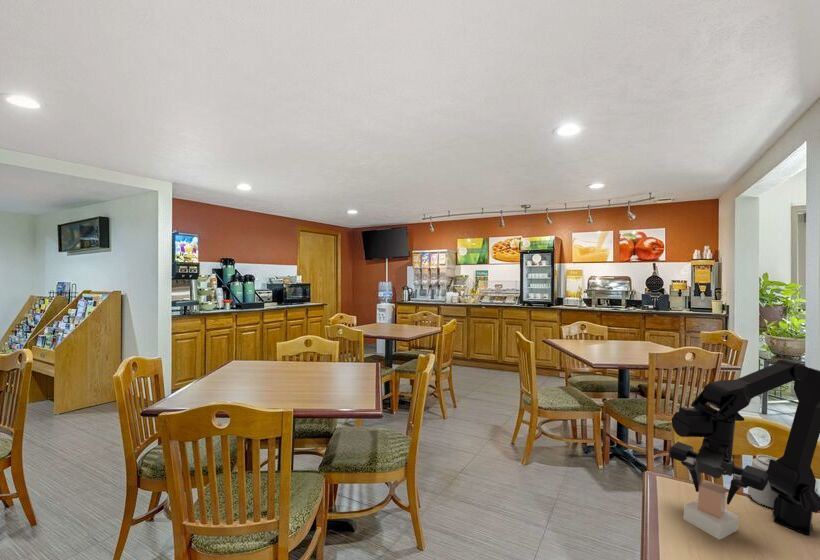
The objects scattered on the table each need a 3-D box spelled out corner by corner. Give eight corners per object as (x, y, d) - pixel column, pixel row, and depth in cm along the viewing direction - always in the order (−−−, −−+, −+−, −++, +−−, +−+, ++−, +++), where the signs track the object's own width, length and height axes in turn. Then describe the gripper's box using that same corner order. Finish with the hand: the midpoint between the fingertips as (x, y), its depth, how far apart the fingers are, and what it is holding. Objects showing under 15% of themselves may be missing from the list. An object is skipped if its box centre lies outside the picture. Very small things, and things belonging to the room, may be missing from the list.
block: (724, 511, 99) (726, 487, 98) (720, 518, 96) (721, 494, 96) (702, 502, 102) (704, 479, 102) (697, 509, 99) (699, 485, 99)
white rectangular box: (737, 532, 97) (738, 516, 97) (719, 541, 94) (720, 525, 94) (701, 512, 105) (702, 497, 104) (683, 520, 101) (684, 505, 101)
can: (791, 509, 107) (797, 466, 106) (768, 511, 105) (774, 468, 104) (761, 492, 114) (768, 452, 113) (740, 493, 113) (746, 453, 112)
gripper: (663, 430, 100) (658, 490, 101) (762, 462, 85) (754, 532, 86) (678, 419, 107) (673, 476, 108) (771, 448, 92) (764, 512, 94)
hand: (712, 497), depth 99 cm, fingers open, 6 cm apart
